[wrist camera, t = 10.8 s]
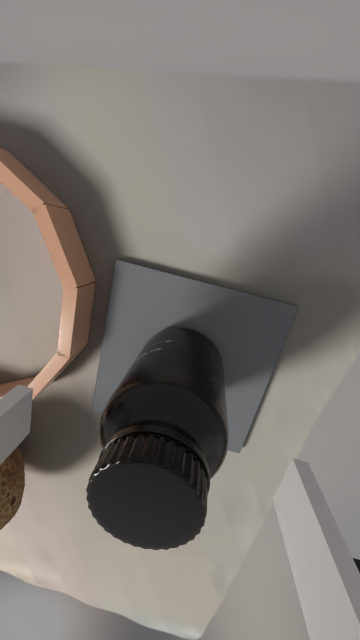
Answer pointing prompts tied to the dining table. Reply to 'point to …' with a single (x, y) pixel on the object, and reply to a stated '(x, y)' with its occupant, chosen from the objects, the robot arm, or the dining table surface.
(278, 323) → the mat
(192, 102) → the dining table surface
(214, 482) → the dining table surface
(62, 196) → the dining table surface
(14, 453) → the natural sponge
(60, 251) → the pink polygonal hoop
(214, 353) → the supplement bottle
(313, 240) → the dining table surface
